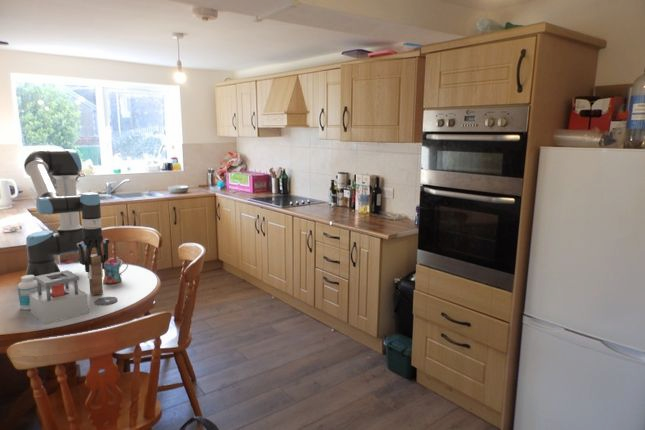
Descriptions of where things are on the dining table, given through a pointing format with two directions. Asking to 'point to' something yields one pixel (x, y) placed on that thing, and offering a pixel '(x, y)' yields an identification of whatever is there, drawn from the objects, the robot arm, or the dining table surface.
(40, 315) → the box
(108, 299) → the pad
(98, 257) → the brown wooden block
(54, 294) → the breaker button
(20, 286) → the pill bottle
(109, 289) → the dining table surface
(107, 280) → the mug
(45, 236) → the robot arm
